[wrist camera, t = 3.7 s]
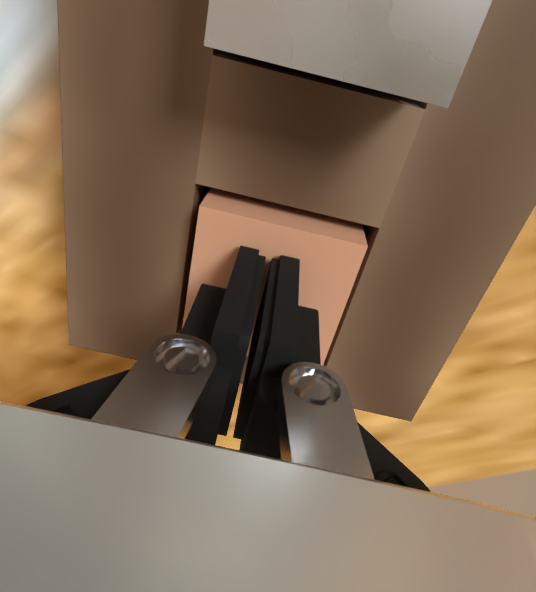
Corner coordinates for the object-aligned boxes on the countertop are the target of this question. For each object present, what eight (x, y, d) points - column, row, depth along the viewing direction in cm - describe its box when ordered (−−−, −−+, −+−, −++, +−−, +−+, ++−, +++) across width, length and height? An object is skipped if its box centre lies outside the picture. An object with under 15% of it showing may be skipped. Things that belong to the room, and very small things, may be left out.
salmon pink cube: (354, 196, 14) (368, 246, 11) (318, 303, 17) (320, 372, 13) (225, 164, 14) (199, 206, 11) (207, 277, 17) (180, 340, 13)
